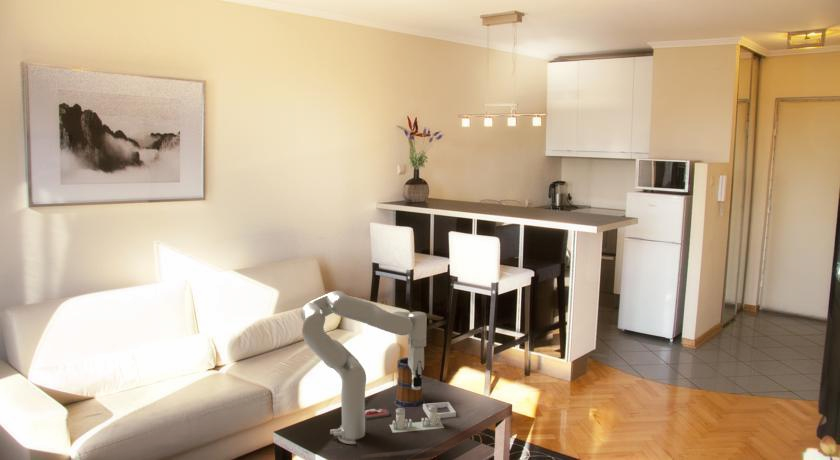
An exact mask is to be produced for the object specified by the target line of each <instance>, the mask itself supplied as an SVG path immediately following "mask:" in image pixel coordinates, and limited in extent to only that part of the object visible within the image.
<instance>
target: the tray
mask: <svg viewBox="0 0 840 460" xmlns="http://www.w3.org/2000/svg"><path fill="white" fill-rule="evenodd" d="M430 405H436V406H437V409H441V408H447V409H448V410H449V411H448V412H446V411H445V412H437V417H440V418H441V419H447V418H456V417H457V412H456V410H455V409H454V408H453V406H452V405H451V403H450V402H449V401H442V402H431V403H425V404H423V406H422V409H423V411H424V413H425V415H426V416H427V418H428V419H429V411H428V406H430Z"/></svg>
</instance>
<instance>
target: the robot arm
mask: <svg viewBox="0 0 840 460" xmlns="http://www.w3.org/2000/svg"><path fill="white" fill-rule="evenodd" d="M332 314H334V315H336V316H339V317H342V318H346V319H349V320H353V321H356V322H358V323H359V322H360V323H363V324H367V325H369V326H371V327H374V328H377V329H380V330H382V331H385V332H387V333H391V334H394V335H399V336H407V346H408V352H407V353H408V356H407V357H408V365H409V367H410V369H411V373H412V371H414V382H413V386H414V387H420V386H422V385H421V380H422V373H423V372H422V371H424V369H425V347H427V323H428V321H427V319H428V318H427V314H426V313H425V312H424V311H423V312H422V311H412V312H409V311H408V312H407V311H394V312H389V311H387V310H385V309H383V308H382V307H379V306H378V305H376V304H375V303H373V302H369V301H366V300H363V299H359V298H356V297H353V296H349V295H346V293H345V292H344V291H341V290H334V291H330V292H329V293H326V294H324V295H322V296H320V297H318V298H315V299H313V300H311V301H309V302H307V303H305V304H304V305H303V306H302V309H301V311H300V316H301V320H302V321H303V324H302V329H301V335H302V339H303V340H304V343H305V344H306V345H307V346H308V347H309V349H311V351H313V352H314V354H315V355H316V356H317V357H318V358H319V359H320V360H322V361H323V363H324V364H325V365H326V366H327V367H329V368H331V369H332V370H334V371H335V372H336V373H337V374H338V375H339V377H340V379H341V393H340V394H341V396H340V397H341V401H340V402H341V425H339V427H338V428H332V429H330V430H329V434H330V435H333V436H334V437H336V436H337V440H338V441H339V442H341V443H343V444H345V445H346V444H348V445H357V442H356V440H359V439H361V438H364V437H365V435H366V420H365V411H366V383H367V374H366V371H365V368H364V367H363V366H362V363H360V361H359V360H358V359H357V358H356V357H355V356H354V355H353V353H351V352H350V351H349V350H348V349H347V348H346V347H345V346H344V345H343V344H342V343H341V342H340V341H339V340H337V339H332V337H330V335H329V334H328V333H327V332H325V330H324V329H325V328H324V326H325V323H326V317H328V316H330V315H332ZM416 369H418V370H416ZM416 372H418V373H416ZM411 383H412V374H411Z"/></svg>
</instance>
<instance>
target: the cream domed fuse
mask: <svg viewBox="0 0 840 460" xmlns="http://www.w3.org/2000/svg"><path fill="white" fill-rule="evenodd" d="M405 419H406V408H401V407H397V408H395V424H396V429H398V430H403V429H405Z"/></svg>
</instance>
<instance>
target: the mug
mask: <svg viewBox="0 0 840 460" xmlns="http://www.w3.org/2000/svg"><path fill="white" fill-rule="evenodd" d="M396 363H397V373H398V374H397V389H396V396H394V397H395V398H394V399H395V400H393V402H394V405H395V406H397V408H404V409H411V408H420V407H423V404H426V401H425V398H424V396H423V390H422V389H423V387H422V383H423V381H422V379H421V389H419V390H413V389H412V383H411V374H412V373H411V369H410V367H409V365H408V356H407V357H401V358H399V359H398V360H397V362H396Z"/></svg>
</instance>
